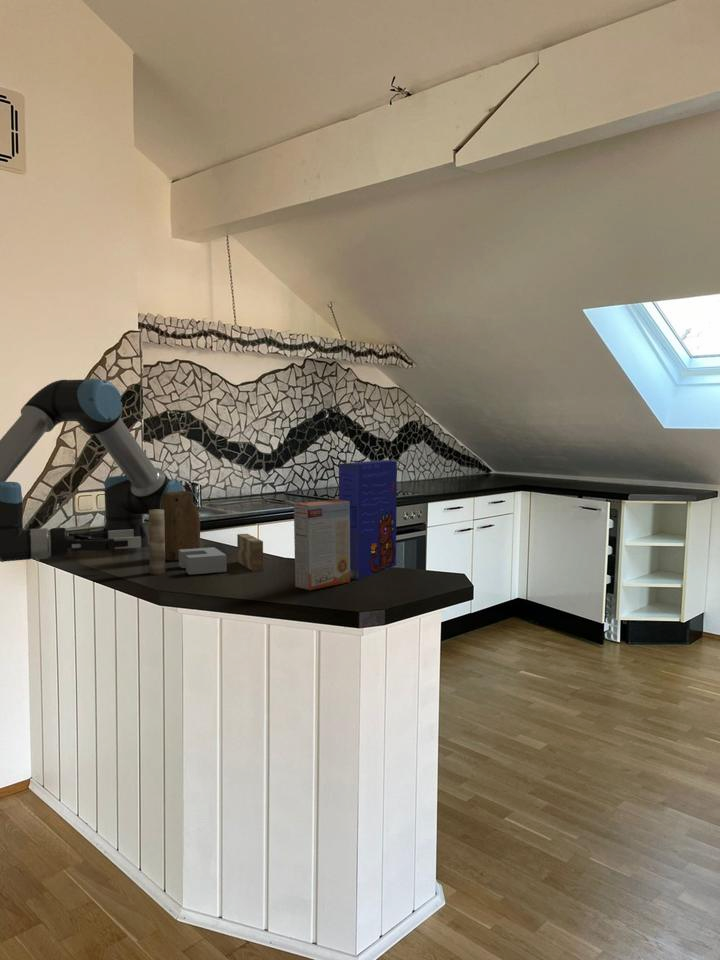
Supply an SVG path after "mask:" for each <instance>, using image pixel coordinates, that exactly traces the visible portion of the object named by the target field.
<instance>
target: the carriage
mask: <svg viewBox="0 0 720 960" xmlns="http://www.w3.org/2000/svg"><path fill="white" fill-rule="evenodd" d="M227 563H228V562H227V554H225V553H224V552H223V551H221V550H219V549H217V548H216V547H200V548H196V549H181V550H179V561H178V566H179V567H180V568H182V569H185V572H186V574H188V575H191V576H192V575H201V574H203V575H204V574H211V573H212V574H213V573H224V572H227V570H228V569H227V567H228V565H227Z"/></svg>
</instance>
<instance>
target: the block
mask: <svg viewBox="0 0 720 960" xmlns="http://www.w3.org/2000/svg"><path fill="white" fill-rule="evenodd" d="M193 496H194V495H193V492H192V491H188V490H183V491H178V492H168V493H164V494H162V496H161V501H162V504H161V509H163V510H164V522H165V561H169V562H171V561H174V562H176V561H178V562H179V550H181V549H196V548H201V546H200V545H201V519H200V514H199V511H198V509H197V505H196V504H195V503H194V500H193Z"/></svg>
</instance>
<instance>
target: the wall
mask: <svg viewBox="0 0 720 960" xmlns="http://www.w3.org/2000/svg"><path fill="white" fill-rule="evenodd" d="M236 538H237V541H236V542H237V547H236V548H237V549H236V551H237V563H239V564H240V565H242V566H243V567H245V568H247V569H248V570H250V571H252V572H257V571H264V541H263V540H261V539H260V538H256V537H255V536H254V535H251V534H249V533H238V534H237V537H236Z"/></svg>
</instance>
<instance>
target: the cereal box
mask: <svg viewBox="0 0 720 960" xmlns="http://www.w3.org/2000/svg"><path fill="white" fill-rule="evenodd" d="M397 472H398V460H391V459H386V460H385V459H384V460H382V459H381V460H380V459H379V460H370V461H369V460H368V461H367V460H366V461H357V462H347V463H339V464H338V500H343V501H349V502H350V580H362V579H364V578H366V577H369V576H371V575H375V574H376V573H380V572H383V571H385V570H386V569H385V568H381V567H386V568H388V569H390V568H393V567H395V566H397V504H398V503H397V498H398V497H397V495H398V494H397V493H398V492H397V491H398V490H397V489H398V487H397V481H398V477H397V476H398V475H397V474H398V473H397ZM384 569H385V570H384ZM379 571H380V572H379Z"/></svg>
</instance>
